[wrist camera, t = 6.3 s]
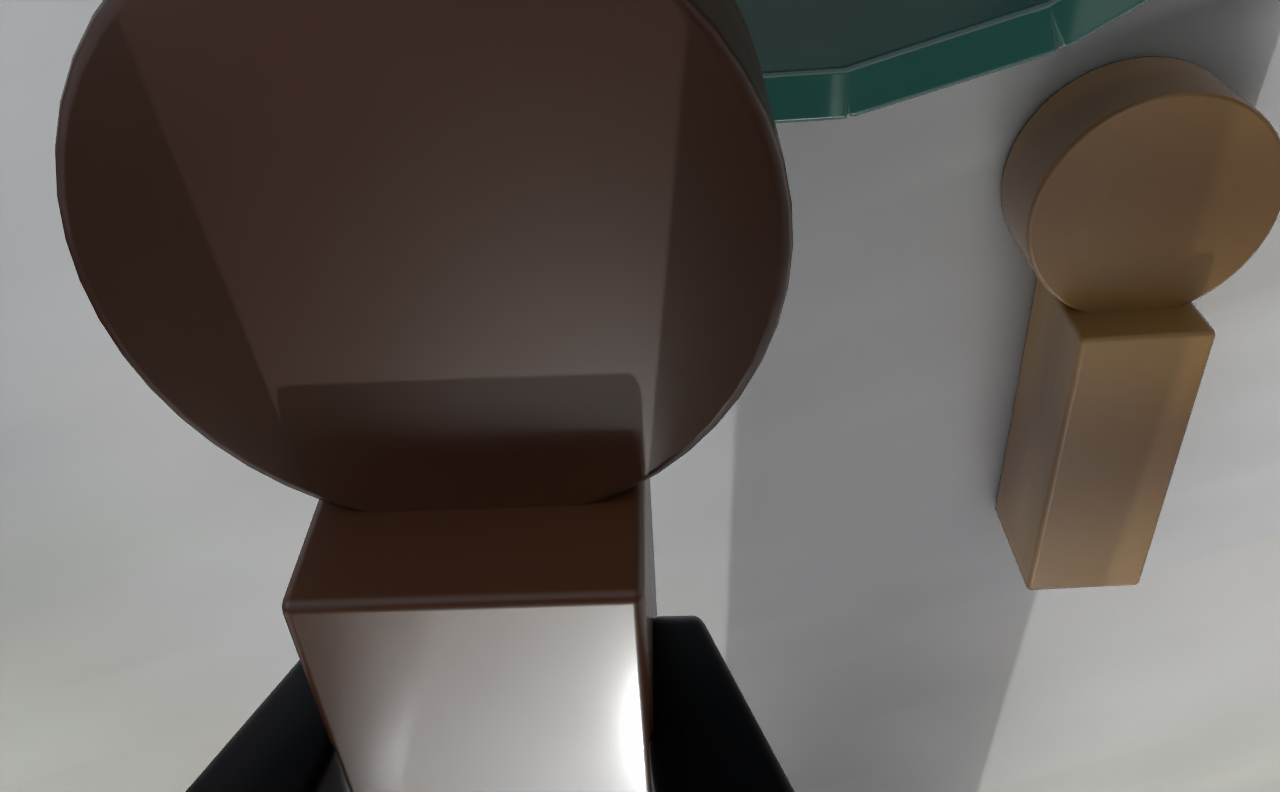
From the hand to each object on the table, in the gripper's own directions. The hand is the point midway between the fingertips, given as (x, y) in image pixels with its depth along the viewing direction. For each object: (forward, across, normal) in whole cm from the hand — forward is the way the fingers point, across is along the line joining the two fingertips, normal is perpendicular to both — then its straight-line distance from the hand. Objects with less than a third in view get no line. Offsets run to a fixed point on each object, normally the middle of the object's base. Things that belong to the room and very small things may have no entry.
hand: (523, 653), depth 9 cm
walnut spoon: (+1, 0, -1) cm, 1 cm away
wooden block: (+11, -9, +4) cm, 15 cm away
